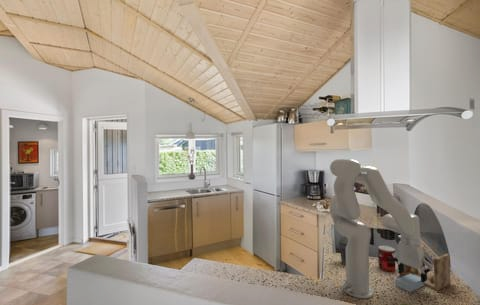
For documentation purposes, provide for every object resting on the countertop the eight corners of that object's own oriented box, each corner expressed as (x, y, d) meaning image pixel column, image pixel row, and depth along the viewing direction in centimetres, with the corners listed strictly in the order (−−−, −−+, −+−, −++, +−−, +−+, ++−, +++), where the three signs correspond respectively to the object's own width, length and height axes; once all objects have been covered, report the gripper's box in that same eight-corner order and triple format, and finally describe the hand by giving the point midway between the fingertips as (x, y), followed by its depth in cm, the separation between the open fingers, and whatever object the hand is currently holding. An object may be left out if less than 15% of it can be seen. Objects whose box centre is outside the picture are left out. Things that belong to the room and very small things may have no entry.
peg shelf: (437, 290, 110) (437, 259, 111) (399, 275, 125) (399, 247, 125) (450, 284, 116) (449, 254, 116) (412, 269, 131) (412, 243, 131)
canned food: (379, 263, 138) (379, 244, 138) (396, 267, 133) (396, 247, 133) (377, 268, 132) (376, 248, 132) (394, 273, 127) (394, 251, 127)
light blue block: (409, 292, 110) (409, 285, 110) (396, 286, 115) (395, 279, 115) (424, 286, 115) (424, 278, 115) (410, 280, 120) (410, 273, 120)
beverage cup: (338, 259, 144) (338, 225, 144) (351, 261, 142) (351, 226, 142) (339, 265, 137) (339, 229, 137) (353, 266, 135) (353, 230, 135)
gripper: (387, 237, 121) (388, 271, 121) (427, 248, 106) (429, 287, 106) (396, 234, 125) (397, 267, 124) (435, 244, 109) (437, 282, 109)
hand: (412, 276), depth 115 cm, fingers open, 9 cm apart
